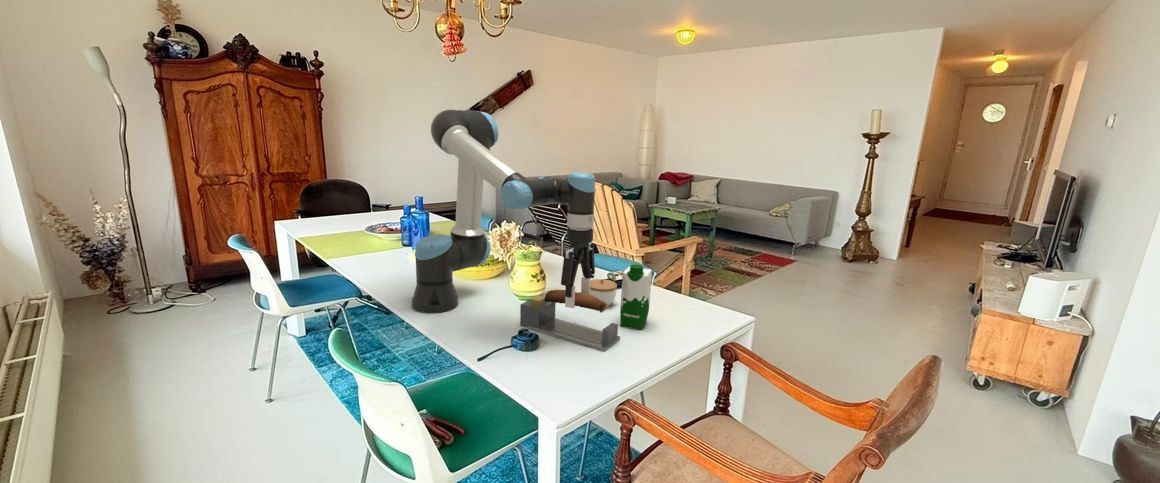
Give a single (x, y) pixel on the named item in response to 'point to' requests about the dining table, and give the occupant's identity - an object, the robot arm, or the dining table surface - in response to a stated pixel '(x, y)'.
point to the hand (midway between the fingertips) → (577, 302)
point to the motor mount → (564, 325)
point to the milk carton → (635, 297)
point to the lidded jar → (603, 290)
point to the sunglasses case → (577, 300)
